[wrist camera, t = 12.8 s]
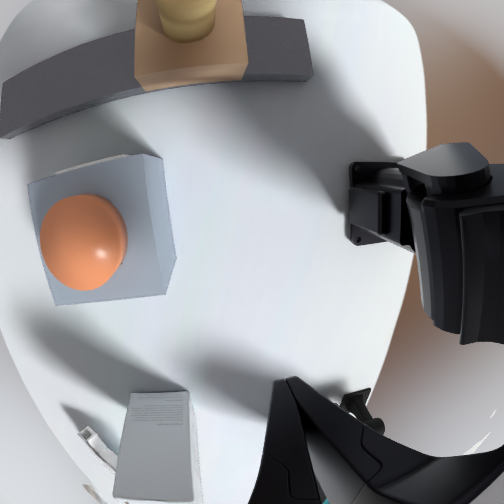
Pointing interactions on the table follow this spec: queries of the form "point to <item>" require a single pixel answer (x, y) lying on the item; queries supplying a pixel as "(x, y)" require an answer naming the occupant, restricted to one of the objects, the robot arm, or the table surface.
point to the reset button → (83, 241)
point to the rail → (122, 73)
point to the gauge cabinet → (133, 213)
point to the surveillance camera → (357, 407)
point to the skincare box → (159, 451)
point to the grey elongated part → (99, 449)
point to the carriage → (189, 42)
